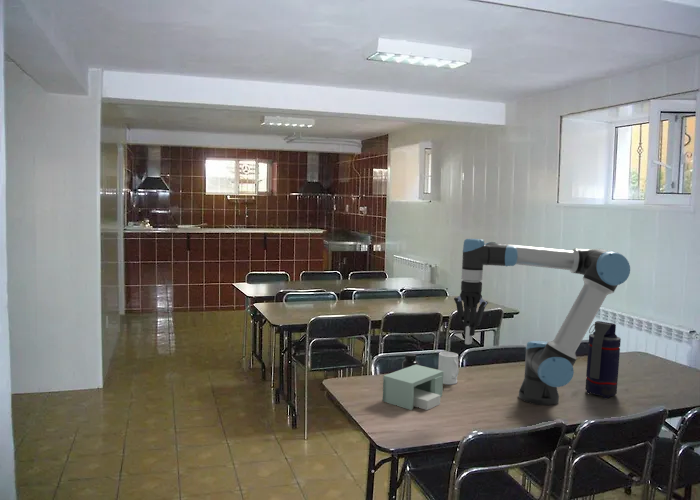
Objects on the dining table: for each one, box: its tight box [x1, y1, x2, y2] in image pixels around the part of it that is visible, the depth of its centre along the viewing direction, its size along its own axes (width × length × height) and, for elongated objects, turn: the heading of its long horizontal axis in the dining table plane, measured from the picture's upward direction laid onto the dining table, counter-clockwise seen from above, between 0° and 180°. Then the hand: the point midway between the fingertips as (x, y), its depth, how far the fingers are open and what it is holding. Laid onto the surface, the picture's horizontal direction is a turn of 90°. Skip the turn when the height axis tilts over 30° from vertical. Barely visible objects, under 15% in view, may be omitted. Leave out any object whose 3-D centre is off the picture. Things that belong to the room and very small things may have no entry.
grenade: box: [584, 320, 622, 399], centre depth 239 cm, size 14×12×30 cm
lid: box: [413, 388, 442, 411], centre depth 223 cm, size 14×9×4 cm, turn 50°
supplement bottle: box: [401, 352, 419, 369], centre depth 247 cm, size 7×7×12 cm
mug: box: [437, 351, 460, 385], centre depth 248 cm, size 12×8×12 cm
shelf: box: [381, 364, 444, 411], centre depth 227 cm, size 14×22×10 cm, turn 140°
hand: (468, 343), depth 217 cm, fingers closed
